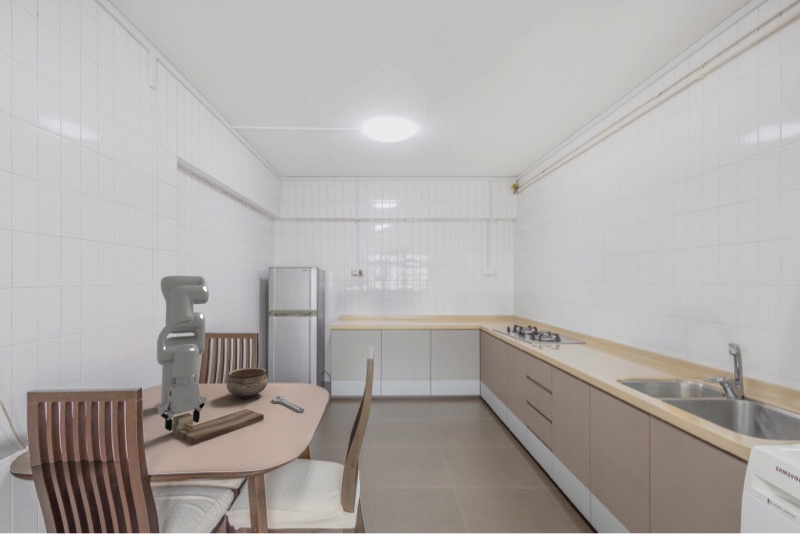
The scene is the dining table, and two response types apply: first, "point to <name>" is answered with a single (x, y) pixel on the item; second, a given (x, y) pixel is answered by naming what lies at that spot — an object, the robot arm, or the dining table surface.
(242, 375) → the cooking pot
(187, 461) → the dining table surface
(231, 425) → the board
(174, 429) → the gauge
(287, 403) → the adjustable wrench
